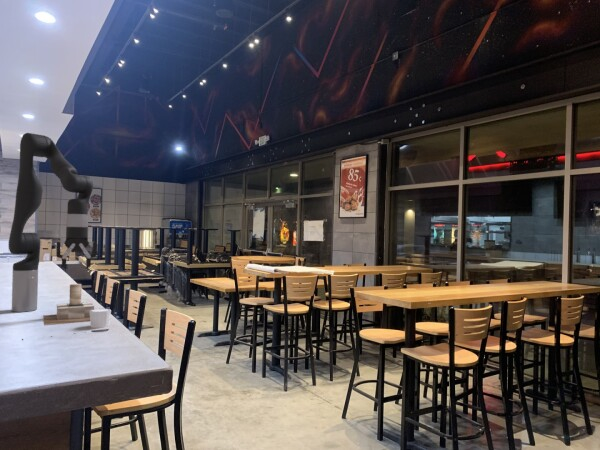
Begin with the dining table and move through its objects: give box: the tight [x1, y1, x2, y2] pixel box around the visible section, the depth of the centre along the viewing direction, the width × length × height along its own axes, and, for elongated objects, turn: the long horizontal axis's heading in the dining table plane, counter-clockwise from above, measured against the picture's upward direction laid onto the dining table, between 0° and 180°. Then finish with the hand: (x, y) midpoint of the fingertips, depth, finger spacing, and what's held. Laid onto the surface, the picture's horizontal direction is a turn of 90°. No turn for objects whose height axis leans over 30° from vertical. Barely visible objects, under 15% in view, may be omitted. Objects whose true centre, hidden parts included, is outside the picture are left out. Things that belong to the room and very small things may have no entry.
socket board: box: [42, 301, 95, 326], centre depth 161 cm, size 20×17×6 cm
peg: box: [68, 283, 82, 307], centre depth 166 cm, size 4×4×12 cm
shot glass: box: [89, 308, 112, 333], centre depth 149 cm, size 7×7×7 cm
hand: (76, 268), depth 166 cm, fingers open, 7 cm apart
